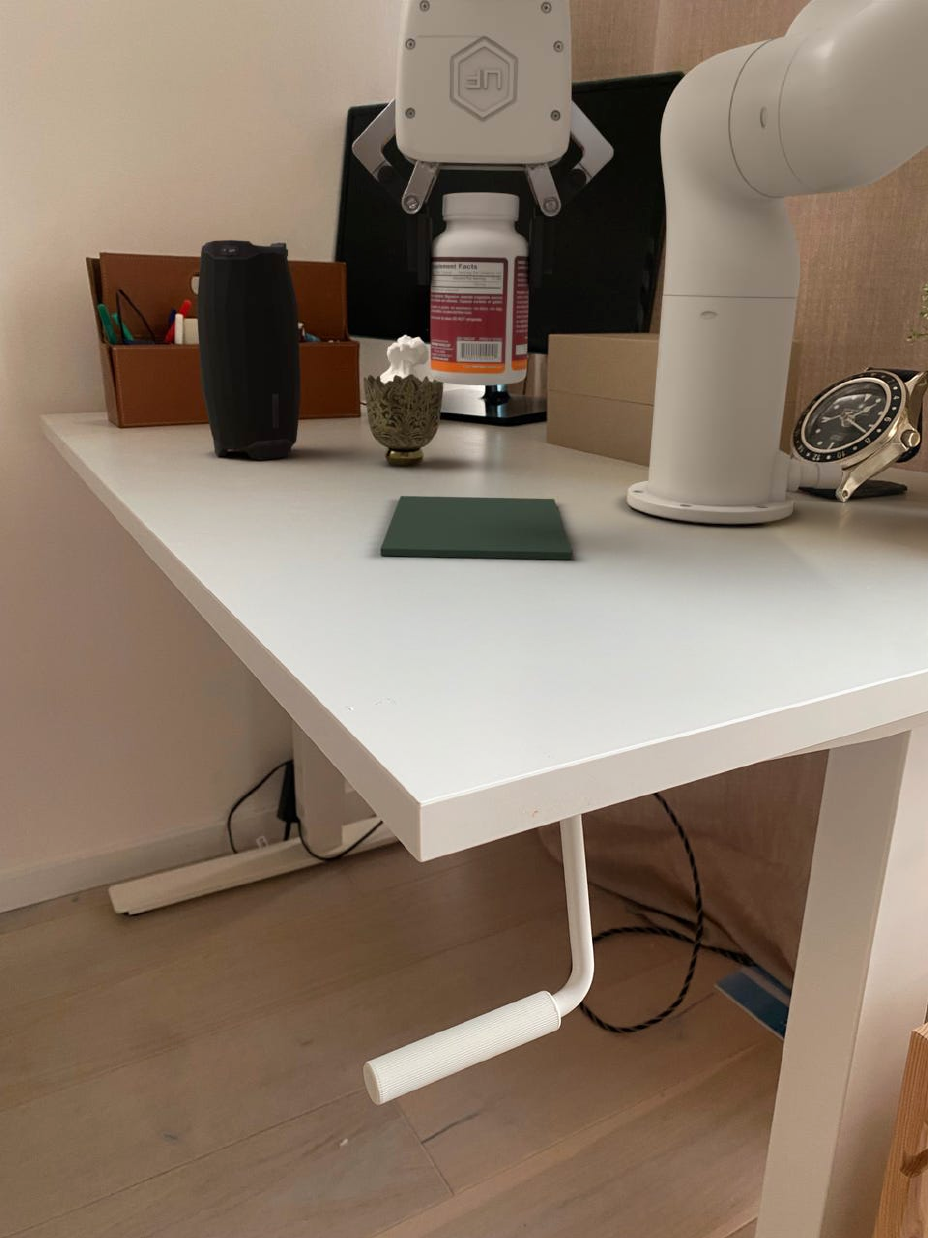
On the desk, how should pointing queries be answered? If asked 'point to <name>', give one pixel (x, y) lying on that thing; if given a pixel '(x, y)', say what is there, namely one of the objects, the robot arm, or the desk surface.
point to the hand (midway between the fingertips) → (479, 282)
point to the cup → (403, 415)
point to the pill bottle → (479, 292)
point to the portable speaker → (249, 347)
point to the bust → (405, 358)
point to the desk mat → (476, 528)
